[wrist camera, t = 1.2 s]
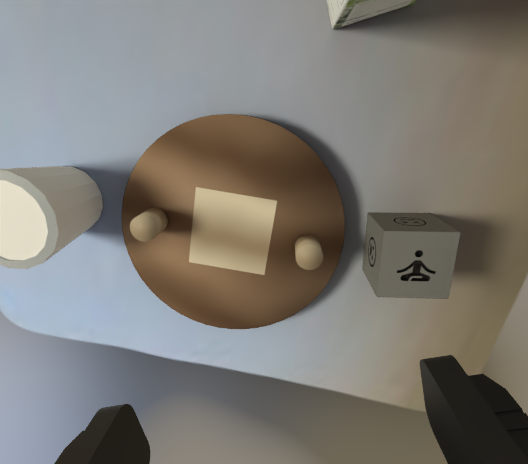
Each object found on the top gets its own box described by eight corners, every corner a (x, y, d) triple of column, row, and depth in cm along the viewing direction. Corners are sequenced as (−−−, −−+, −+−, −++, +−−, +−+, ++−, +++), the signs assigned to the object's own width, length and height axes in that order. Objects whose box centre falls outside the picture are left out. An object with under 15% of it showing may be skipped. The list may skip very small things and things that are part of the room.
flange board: (133, 96, 26) (106, 92, 22) (365, 135, 26) (379, 137, 22) (126, 301, 32) (104, 326, 28) (317, 334, 31) (321, 364, 27)
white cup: (107, 245, 30) (55, 280, 23) (31, 227, 30) (-42, 257, 23) (113, 168, 28) (58, 183, 21) (31, 149, 28) (-50, 157, 21)
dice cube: (362, 268, 29) (376, 296, 24) (367, 212, 28) (384, 230, 23) (421, 269, 29) (448, 298, 24) (430, 213, 27) (460, 232, 23)
